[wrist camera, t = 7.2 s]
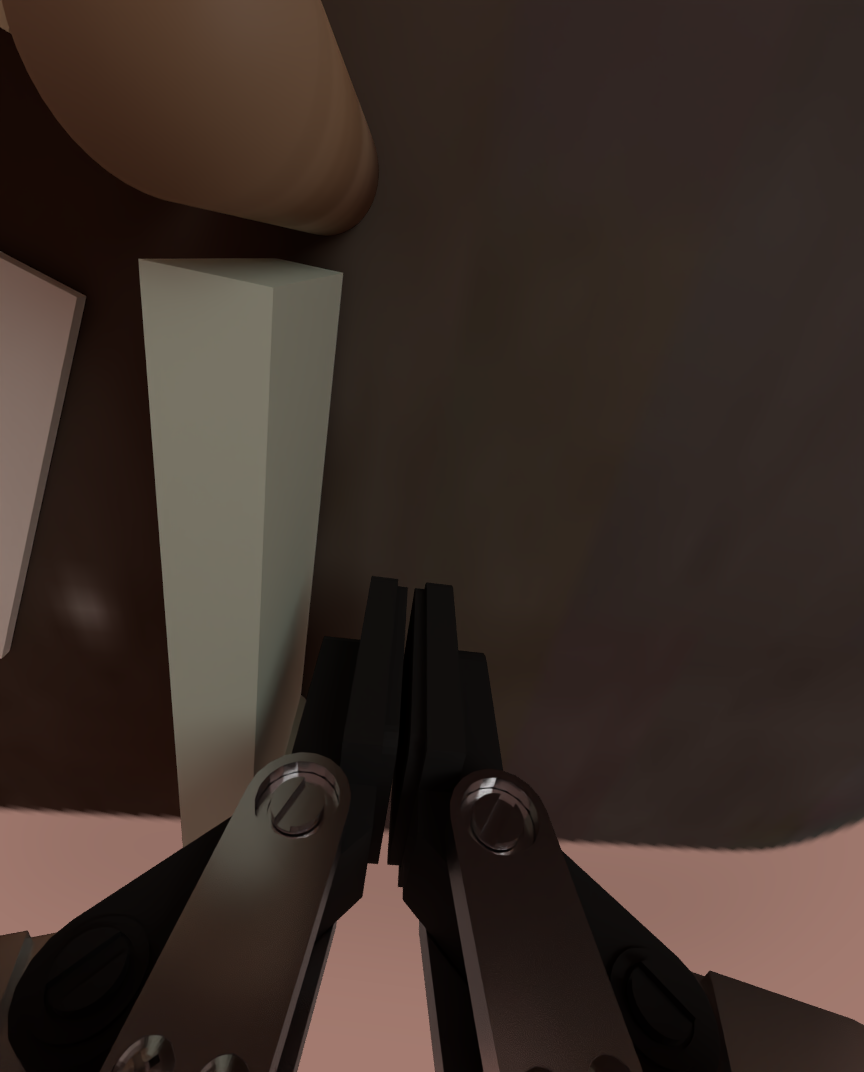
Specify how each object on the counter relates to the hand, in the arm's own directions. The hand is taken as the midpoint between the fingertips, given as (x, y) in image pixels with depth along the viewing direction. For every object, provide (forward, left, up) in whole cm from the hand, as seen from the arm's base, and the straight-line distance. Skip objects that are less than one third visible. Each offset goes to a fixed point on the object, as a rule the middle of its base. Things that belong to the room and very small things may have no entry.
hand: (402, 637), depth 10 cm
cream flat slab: (-3, -1, -2) cm, 4 cm away
